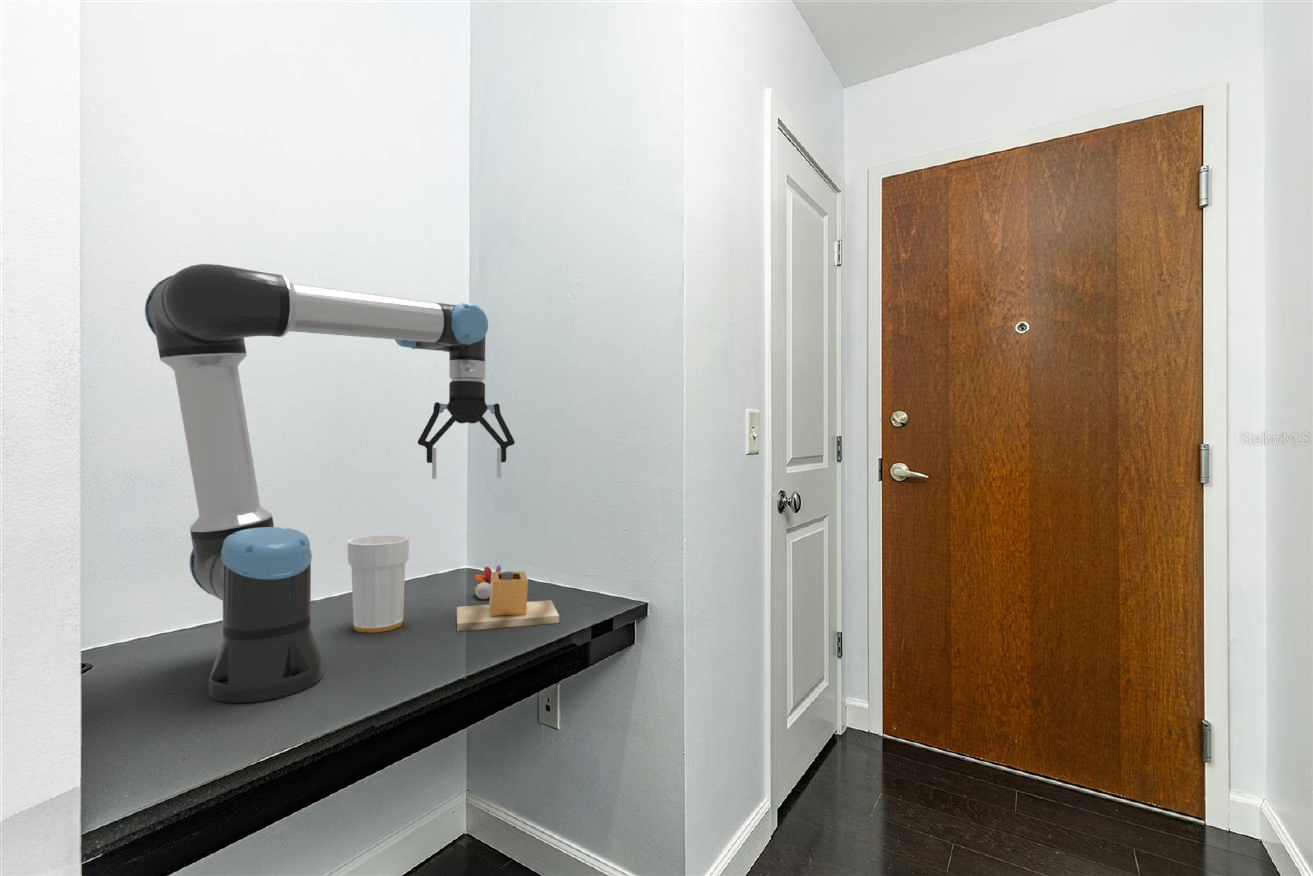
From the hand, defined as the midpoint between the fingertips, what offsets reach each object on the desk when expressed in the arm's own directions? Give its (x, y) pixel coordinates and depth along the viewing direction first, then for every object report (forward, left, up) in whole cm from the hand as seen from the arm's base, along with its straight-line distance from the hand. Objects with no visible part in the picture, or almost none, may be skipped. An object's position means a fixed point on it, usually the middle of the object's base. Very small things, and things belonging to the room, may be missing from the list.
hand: (467, 478), depth 140 cm
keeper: (+8, -10, -29) cm, 31 cm away
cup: (-17, -8, -29) cm, 34 cm away
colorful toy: (+6, +9, -29) cm, 31 cm away
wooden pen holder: (+8, -10, -27) cm, 30 cm away
